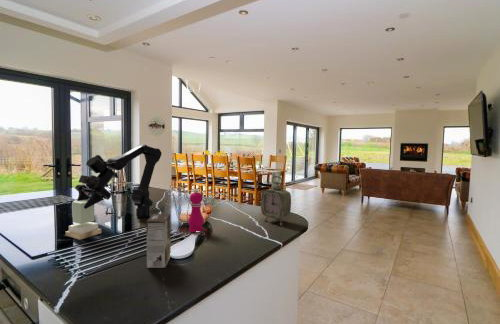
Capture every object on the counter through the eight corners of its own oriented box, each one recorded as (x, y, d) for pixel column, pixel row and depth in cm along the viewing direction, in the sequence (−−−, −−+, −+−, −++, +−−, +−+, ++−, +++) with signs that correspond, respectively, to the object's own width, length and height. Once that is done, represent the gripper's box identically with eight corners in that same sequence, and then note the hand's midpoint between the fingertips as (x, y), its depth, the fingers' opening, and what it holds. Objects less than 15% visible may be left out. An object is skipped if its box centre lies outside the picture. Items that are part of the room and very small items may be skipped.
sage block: (86, 218, 127) (85, 199, 126) (94, 220, 124) (93, 200, 124) (72, 222, 122) (72, 201, 121) (81, 224, 119) (80, 203, 118)
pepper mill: (206, 229, 134) (206, 188, 132) (198, 234, 127) (199, 191, 125) (193, 227, 136) (193, 187, 134) (185, 232, 129) (185, 189, 128)
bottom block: (87, 230, 130) (87, 225, 130) (101, 234, 126) (101, 229, 126) (65, 237, 121) (65, 231, 121) (79, 241, 117) (79, 235, 117)
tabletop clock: (260, 221, 150) (261, 175, 148) (270, 218, 156) (272, 174, 154) (282, 227, 140) (283, 178, 138) (292, 223, 146) (293, 176, 145)
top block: (85, 226, 129) (84, 221, 128) (98, 228, 126) (98, 223, 126) (68, 231, 121) (68, 226, 121) (82, 234, 119) (82, 228, 118)
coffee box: (153, 256, 101) (153, 213, 100) (171, 256, 102) (171, 213, 101) (146, 268, 92) (145, 220, 91) (165, 267, 93) (165, 220, 91)
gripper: (78, 167, 129) (53, 194, 120) (104, 169, 121) (79, 199, 112) (94, 181, 137) (72, 208, 128) (120, 185, 128) (98, 214, 119)
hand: (80, 207), depth 121 cm, fingers closed on sage block, 6 cm apart
